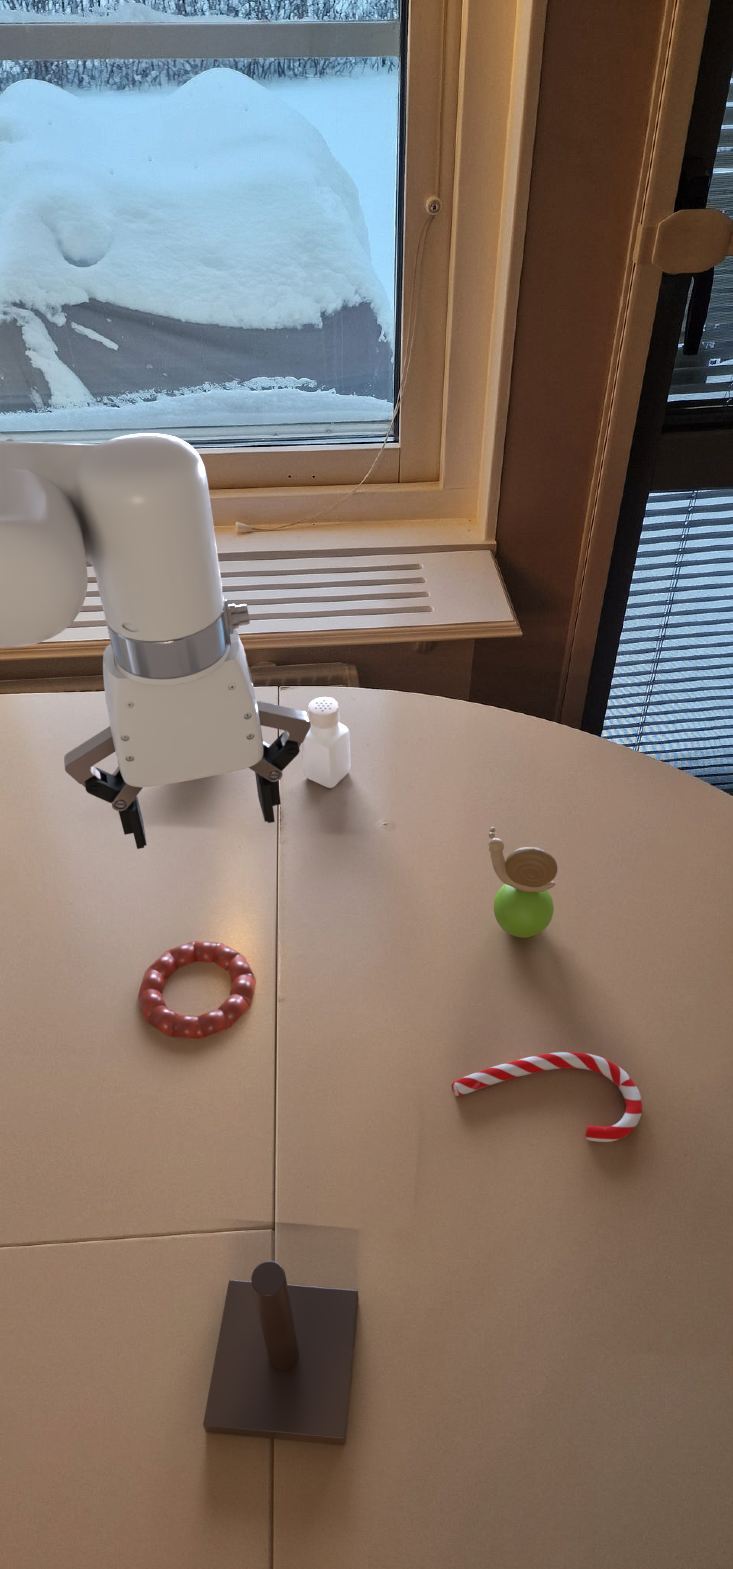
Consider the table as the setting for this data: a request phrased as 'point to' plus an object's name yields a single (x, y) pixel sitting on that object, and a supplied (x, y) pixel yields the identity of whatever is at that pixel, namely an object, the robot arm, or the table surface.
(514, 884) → the snail figurine
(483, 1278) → the table surface
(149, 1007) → the ring
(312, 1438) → the post
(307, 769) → the pepper shaker
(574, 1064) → the candy cane
